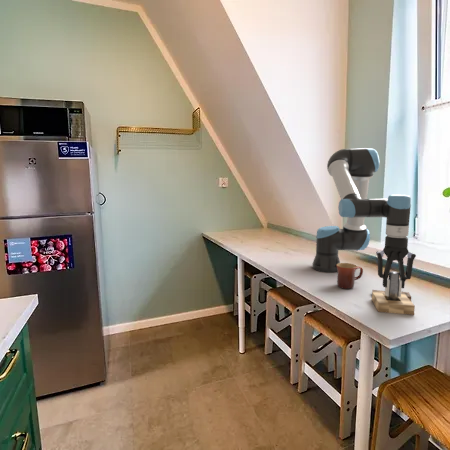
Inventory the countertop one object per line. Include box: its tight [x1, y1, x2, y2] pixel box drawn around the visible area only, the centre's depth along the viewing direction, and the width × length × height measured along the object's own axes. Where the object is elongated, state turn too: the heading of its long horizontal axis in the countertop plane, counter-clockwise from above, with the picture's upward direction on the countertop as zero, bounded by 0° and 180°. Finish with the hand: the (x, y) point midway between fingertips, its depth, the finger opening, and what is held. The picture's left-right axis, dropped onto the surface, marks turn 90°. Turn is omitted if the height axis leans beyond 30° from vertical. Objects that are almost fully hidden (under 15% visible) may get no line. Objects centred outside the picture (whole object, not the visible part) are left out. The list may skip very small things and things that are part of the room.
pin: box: [387, 270, 400, 301], centre depth 119 cm, size 4×4×14 cm
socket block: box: [371, 292, 416, 316], centre depth 120 cm, size 12×12×4 cm
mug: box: [336, 262, 364, 290], centre depth 142 cm, size 12×9×10 cm
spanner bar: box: [371, 289, 412, 302], centre depth 130 cm, size 14×5×2 cm, turn 71°
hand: (392, 295), depth 120 cm, fingers closed on pin, 3 cm apart
